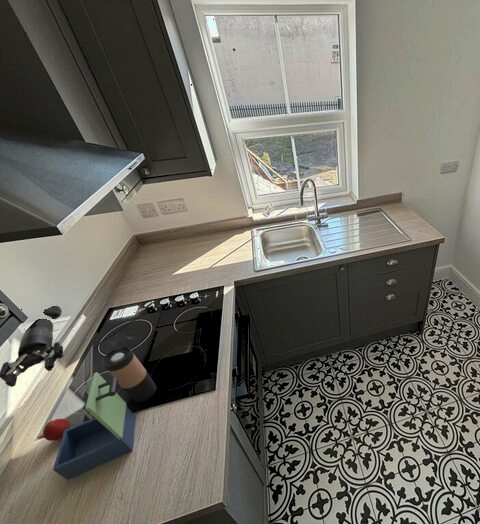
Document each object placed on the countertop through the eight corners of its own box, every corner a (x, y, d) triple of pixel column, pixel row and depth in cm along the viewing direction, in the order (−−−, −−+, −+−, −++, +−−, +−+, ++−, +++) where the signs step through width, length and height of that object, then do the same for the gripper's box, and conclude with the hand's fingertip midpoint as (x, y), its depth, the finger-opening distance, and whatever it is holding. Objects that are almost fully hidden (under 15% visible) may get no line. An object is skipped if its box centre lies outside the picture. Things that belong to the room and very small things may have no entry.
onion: (66, 445, 88) (49, 432, 84) (47, 445, 88) (29, 432, 84) (80, 425, 93) (65, 412, 89) (62, 426, 93) (46, 412, 89)
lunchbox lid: (85, 409, 72) (109, 399, 74) (93, 373, 81) (115, 365, 83) (119, 439, 82) (139, 430, 84) (123, 404, 91) (142, 396, 92)
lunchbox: (68, 480, 81) (52, 470, 77) (77, 441, 89) (64, 430, 85) (132, 450, 86) (121, 439, 82) (135, 416, 95) (125, 404, 91)
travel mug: (141, 406, 97) (111, 370, 86) (127, 398, 100) (96, 361, 89) (162, 387, 103) (135, 350, 92) (148, 379, 106) (120, 343, 94)
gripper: (-1, 346, 93) (-13, 383, 82) (56, 325, 100) (52, 356, 89) (16, 361, 97) (7, 397, 87) (69, 339, 104) (67, 371, 93)
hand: (30, 376), depth 88 cm, fingers open, 8 cm apart
